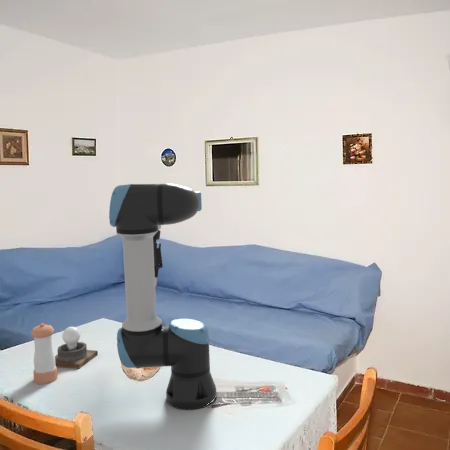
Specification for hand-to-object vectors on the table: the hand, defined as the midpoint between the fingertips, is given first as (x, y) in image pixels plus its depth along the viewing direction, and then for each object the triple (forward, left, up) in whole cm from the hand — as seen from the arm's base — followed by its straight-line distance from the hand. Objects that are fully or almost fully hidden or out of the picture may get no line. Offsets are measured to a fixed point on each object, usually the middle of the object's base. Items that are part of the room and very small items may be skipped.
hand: (144, 282), depth 176 cm
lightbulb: (-17, +22, -24) cm, 37 cm away
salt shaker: (-33, +22, -26) cm, 48 cm away
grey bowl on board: (-17, +22, -26) cm, 38 cm away
